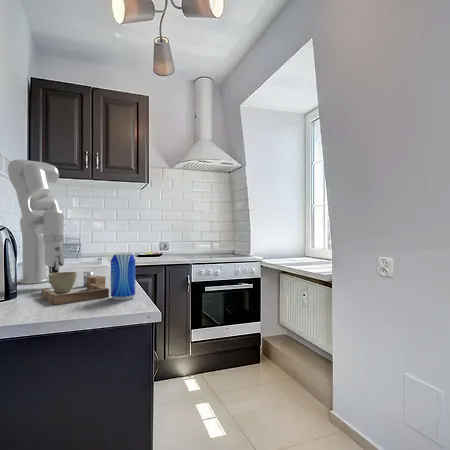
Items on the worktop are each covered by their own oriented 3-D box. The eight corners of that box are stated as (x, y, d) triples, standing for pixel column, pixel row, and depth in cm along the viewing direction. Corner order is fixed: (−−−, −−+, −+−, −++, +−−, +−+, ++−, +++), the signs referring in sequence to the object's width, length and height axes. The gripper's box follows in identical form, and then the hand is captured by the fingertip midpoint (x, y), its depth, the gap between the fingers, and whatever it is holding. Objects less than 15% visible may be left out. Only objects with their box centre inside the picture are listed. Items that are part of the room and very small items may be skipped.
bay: (41, 297, 119) (41, 289, 119) (91, 290, 131) (91, 283, 132) (54, 305, 108) (54, 296, 108) (108, 296, 120) (108, 288, 120)
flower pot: (69, 288, 137) (69, 271, 137) (81, 291, 130) (81, 273, 130) (43, 292, 129) (43, 273, 129) (55, 295, 123) (55, 276, 123)
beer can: (110, 296, 121) (110, 253, 121) (134, 295, 124) (134, 252, 124) (111, 301, 113) (111, 254, 113) (136, 299, 116) (136, 254, 116)
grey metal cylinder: (82, 286, 142) (82, 272, 142) (91, 285, 144) (91, 271, 144) (85, 287, 139) (85, 273, 139) (95, 286, 141) (95, 272, 141)
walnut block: (86, 289, 135) (86, 277, 135) (96, 287, 139) (96, 275, 139) (95, 290, 132) (95, 278, 132) (105, 288, 137) (105, 276, 137)
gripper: (69, 239, 135) (69, 284, 135) (57, 238, 146) (57, 280, 146) (49, 239, 130) (49, 286, 130) (38, 239, 141) (38, 282, 141)
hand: (53, 283), depth 138 cm, fingers closed
